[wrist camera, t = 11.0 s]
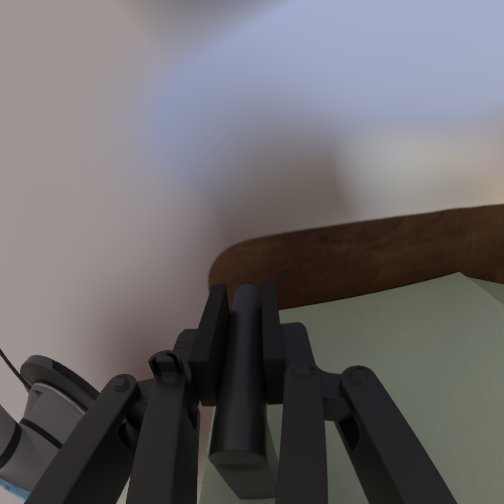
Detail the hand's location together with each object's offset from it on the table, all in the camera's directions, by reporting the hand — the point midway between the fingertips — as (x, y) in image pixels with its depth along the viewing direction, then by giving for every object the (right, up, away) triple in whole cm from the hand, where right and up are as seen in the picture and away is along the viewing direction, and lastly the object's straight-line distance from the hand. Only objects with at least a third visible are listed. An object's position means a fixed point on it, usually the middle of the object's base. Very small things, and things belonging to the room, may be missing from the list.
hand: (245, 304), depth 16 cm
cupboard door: (+11, +1, +8) cm, 13 cm away
